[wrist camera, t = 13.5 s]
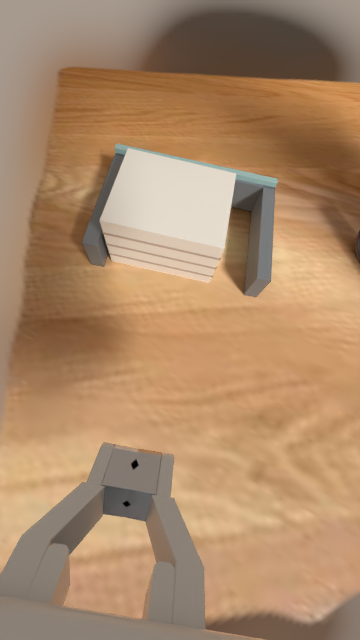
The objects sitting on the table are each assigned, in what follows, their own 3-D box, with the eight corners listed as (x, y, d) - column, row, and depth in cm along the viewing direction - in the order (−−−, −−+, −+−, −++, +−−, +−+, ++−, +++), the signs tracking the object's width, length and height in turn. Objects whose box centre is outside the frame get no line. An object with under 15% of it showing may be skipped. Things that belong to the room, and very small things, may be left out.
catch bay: (262, 205, 34) (277, 176, 30) (256, 297, 29) (273, 278, 25) (122, 175, 34) (117, 141, 29) (91, 264, 29) (79, 238, 24)
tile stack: (220, 219, 33) (236, 173, 26) (209, 284, 30) (224, 249, 23) (133, 199, 33) (127, 147, 26) (111, 262, 29) (98, 220, 23)
